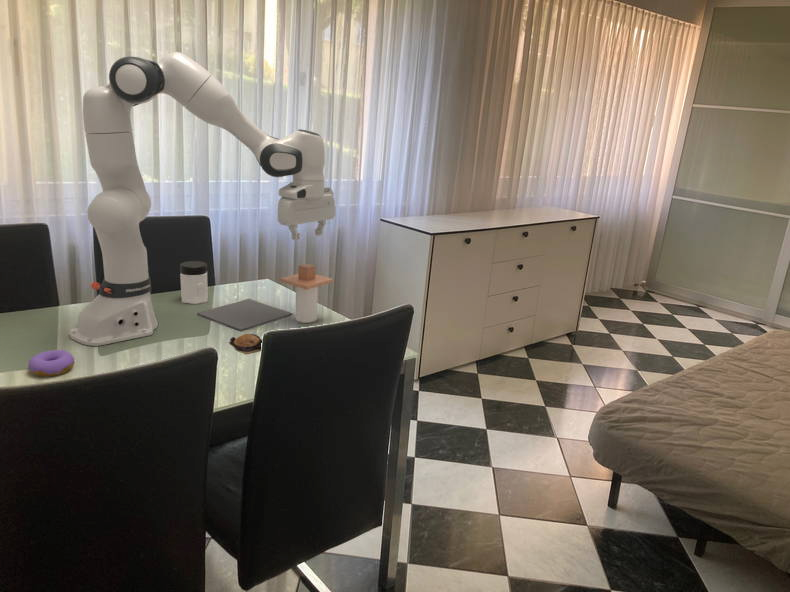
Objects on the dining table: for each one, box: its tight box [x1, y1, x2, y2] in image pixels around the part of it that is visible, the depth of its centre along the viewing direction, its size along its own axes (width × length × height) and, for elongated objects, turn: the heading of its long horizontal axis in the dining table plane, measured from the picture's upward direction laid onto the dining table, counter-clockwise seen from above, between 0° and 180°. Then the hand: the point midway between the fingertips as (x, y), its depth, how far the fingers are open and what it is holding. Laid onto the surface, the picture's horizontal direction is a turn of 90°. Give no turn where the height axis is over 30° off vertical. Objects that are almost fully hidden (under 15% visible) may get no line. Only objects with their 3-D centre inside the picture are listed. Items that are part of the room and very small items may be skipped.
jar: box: [179, 260, 209, 305], centre depth 195 cm, size 9×8×12 cm
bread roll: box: [228, 333, 263, 355], centre depth 164 cm, size 11×8×4 cm
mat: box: [196, 298, 293, 332], centre depth 186 cm, size 20×20×1 cm
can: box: [295, 286, 319, 324], centre depth 183 cm, size 6×6×12 cm
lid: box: [279, 263, 334, 290], centre depth 181 cm, size 11×11×5 cm
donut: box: [27, 349, 75, 377], centre depth 143 cm, size 10×9×5 cm
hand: (307, 237), depth 177 cm, fingers open, 8 cm apart
